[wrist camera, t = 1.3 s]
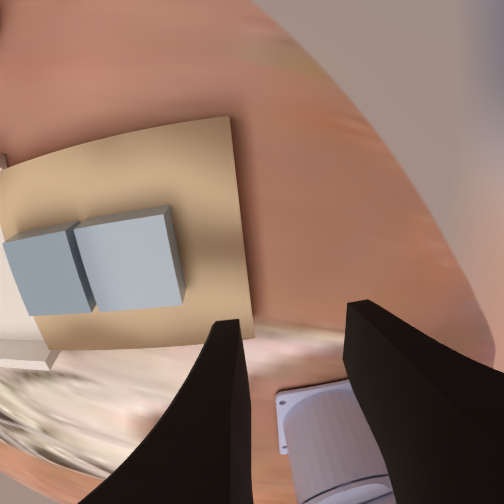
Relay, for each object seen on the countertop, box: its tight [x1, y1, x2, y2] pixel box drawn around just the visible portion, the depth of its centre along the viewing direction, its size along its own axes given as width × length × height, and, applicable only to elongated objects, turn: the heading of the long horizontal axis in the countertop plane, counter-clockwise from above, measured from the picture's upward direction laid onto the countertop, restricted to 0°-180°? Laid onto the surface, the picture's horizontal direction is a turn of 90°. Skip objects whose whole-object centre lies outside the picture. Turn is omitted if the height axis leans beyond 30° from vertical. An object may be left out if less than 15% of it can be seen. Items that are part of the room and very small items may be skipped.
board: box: [0, 116, 255, 350], centre depth 16 cm, size 12×14×2 cm
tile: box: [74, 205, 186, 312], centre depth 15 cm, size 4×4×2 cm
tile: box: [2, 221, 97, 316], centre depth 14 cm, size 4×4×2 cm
